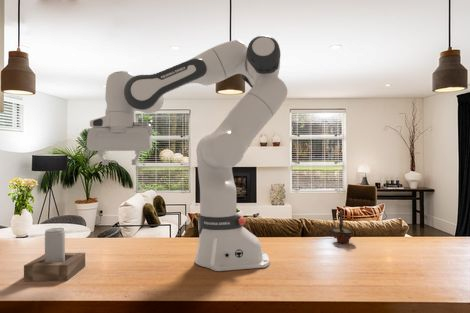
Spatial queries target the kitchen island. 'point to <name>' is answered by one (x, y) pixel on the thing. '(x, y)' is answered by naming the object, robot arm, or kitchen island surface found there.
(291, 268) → the kitchen island surface
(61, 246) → the beverage can
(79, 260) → the walnut holder
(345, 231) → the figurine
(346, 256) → the kitchen island surface
